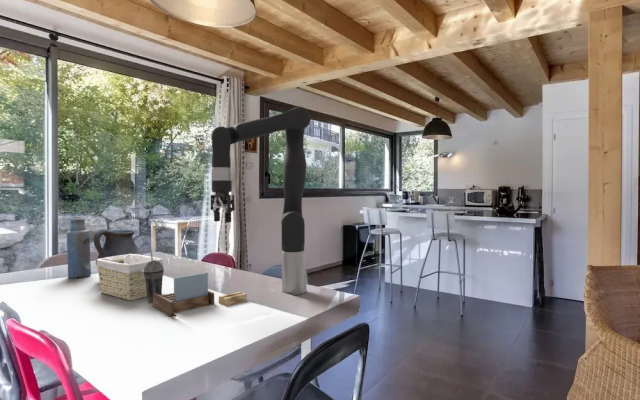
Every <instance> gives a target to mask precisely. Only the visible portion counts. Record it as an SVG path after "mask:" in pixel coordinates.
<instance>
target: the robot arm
mask: <svg viewBox="0 0 640 400" xmlns="http://www.w3.org/2000/svg"><path fill="white" fill-rule="evenodd" d="M311 118H312V117H311V113H310V111H309V110H308V109H307V108H305V107H302V106H295V107H293V108H291V109H289V110H287V111H284V112H281V113H279V114H275V115H271V116H268V117H262V118H257V119H252V120H247V121H242V122H240V123H236V124H235V125H233V126H228V127H225V126H222V125H219V126H216V127H215V128H213V130H212V131H211V137H210V138H211V139H210V140H211V149H212V155H211V174H210V175H211V192H212V193H214V194H211V195H210V210H211V211H212V212H213V221H214V222H221V208H223V210H224V222H225V223H231V222H232V213H233V211H235V210H236V208H235V206H236V205H235V195H234V194H230V193H232V191H233V187H232V186H233V184H232V183H233V182H232V181H233V180H232V179H233V177H232V173H233V172H232V167H231V166H232V165H231V164H232V161H231V145H234V144H236V143H240V142H246V141H251V140H254V139H257V138H261V137H264V136H268V135H271V134H273V133H275V132H276V133H277V132H280V131H285V150H284V160H283V161H284V163H283V173H282V174H283V175H282V176H283V177H282V178H283V179H282V180H283V195H284V196H283V197H284V199H283V208H282V209H283V210H282V214H281V215H282V216H281V221H280V222H281V223H280V224H281V290H282V291H281V292H282V293H285V294H287V295H290V296H299V295H303V294H304V293H306V292H307V285H308V284H307V268H306V267H305V244H306V243H305V242H306V241H305V239H306V237H305V236H306V235H305V227H306V226H305V225H306V224H305V219H304V217H303V206H302V205H303V195H304V190H305V185H306V177H307V159H306V153H305V149H304V137H305V129H306V128H308V126H309V125H310V123H311V120H312V119H311Z"/></svg>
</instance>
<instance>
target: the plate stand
mask: <svg viewBox="0 0 640 400" xmlns="http://www.w3.org/2000/svg"><path fill="white" fill-rule="evenodd" d="M247 295H248V294H247V293H245V292H242V291H236V292H233V293H232V292H231V293H227V294H224V295H223V294H222V295H220V296H218V304H219V305H221V306H224V307H227V306H231V305H235V304H240V303H243V302H247V301H248V300H247V299H248V297H247Z"/></svg>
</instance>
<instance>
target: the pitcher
mask: <svg viewBox="0 0 640 400" xmlns="http://www.w3.org/2000/svg"><path fill="white" fill-rule="evenodd" d="M135 233H136V230H134V229H106V228H102V229H98V230H97V231H96V232H95V233H94V235H93V245H94V247H95V249H96V251H97V253H98V255H97V257H96V259H95V265H96V267H98V266H97V264H96V263H97V259H100V258H106V257H112V256H119V255H126V254H139V255H144V253H143V252H142V251H141V249H139V248H138V246H137V244H136V242H135V240H134V237H133V236H134V235H135ZM102 236H105V240H104V244H103V246H102V245H101V237H102ZM123 262H124V261H121V262H117V263H123Z"/></svg>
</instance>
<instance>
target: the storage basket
mask: <svg viewBox="0 0 640 400" xmlns="http://www.w3.org/2000/svg"><path fill="white" fill-rule="evenodd" d="M96 260H97V263H96V262H95V265H96V264H97V265H96V267H97V266H98V267H97V272H98V278H99V287H100V292H101V293H102V294H105V295H110V296H113V297H115V298H118V299H124V300H127V301H136V300H137V299H141V298H146V297H147V290H146V281H145V277H144V273H143V272H144V267H145V265H146V264H147V263H148V262H150V261H151V255H150V256H149V255H144V254H143V255H139V254H126V255H119V256H112V257H106V258H100V259H97V258H96ZM154 260H156V261H159V262H160V263H161V264H162V265H163V266H164V265H165V263H164V260H163V259H162V258H160V257H156V256H153V261H154ZM121 261H124V262H123V263H117V262H121Z"/></svg>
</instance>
